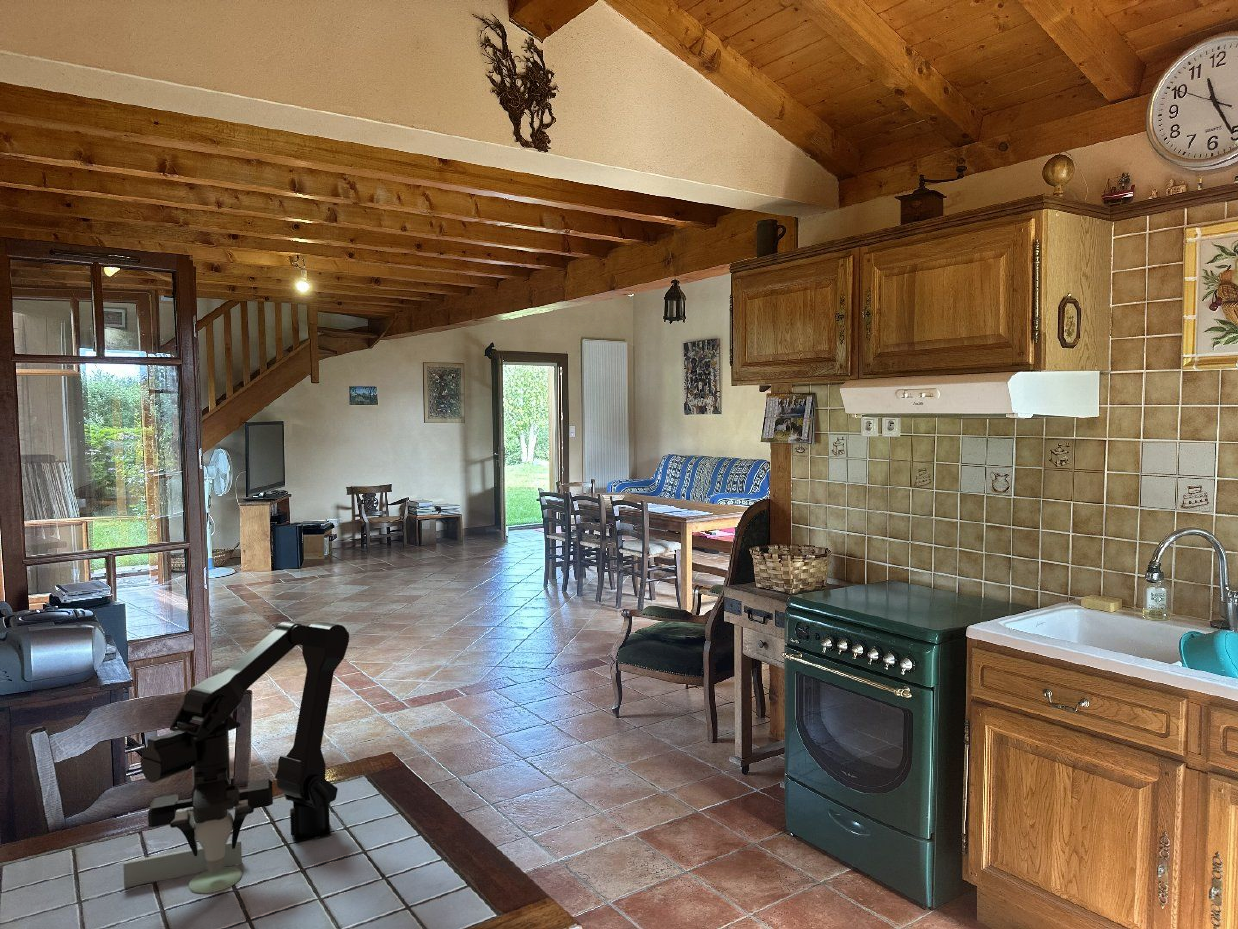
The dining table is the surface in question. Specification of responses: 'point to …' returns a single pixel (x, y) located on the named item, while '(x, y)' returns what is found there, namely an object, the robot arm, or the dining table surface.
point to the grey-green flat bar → (174, 865)
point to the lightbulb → (214, 840)
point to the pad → (215, 880)
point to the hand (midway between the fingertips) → (215, 851)
